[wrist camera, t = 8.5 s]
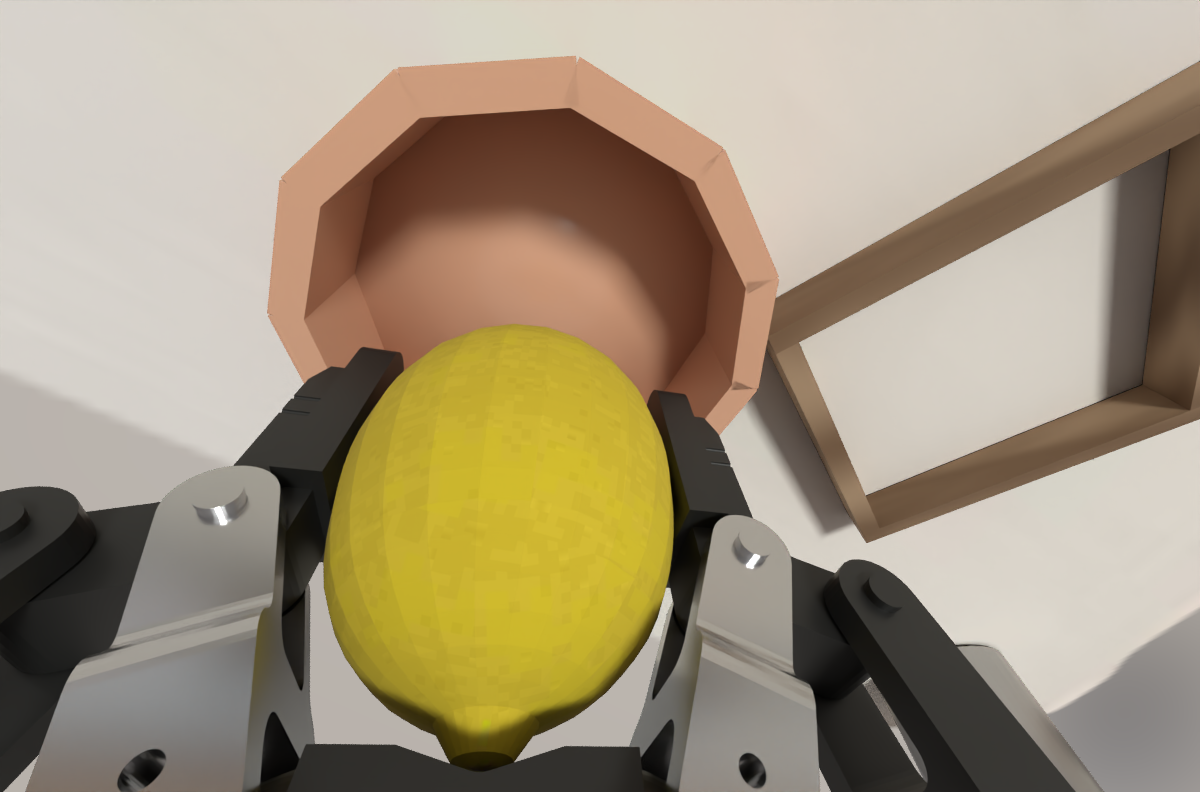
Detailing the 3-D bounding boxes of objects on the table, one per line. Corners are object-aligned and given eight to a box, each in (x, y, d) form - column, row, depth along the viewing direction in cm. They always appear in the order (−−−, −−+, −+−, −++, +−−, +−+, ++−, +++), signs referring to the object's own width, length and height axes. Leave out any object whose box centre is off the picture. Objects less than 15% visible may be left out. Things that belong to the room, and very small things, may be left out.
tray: (1163, 388, 19) (1212, 414, 18) (847, 513, 23) (866, 543, 21) (1214, 52, 12) (1302, 49, 11) (749, 313, 16) (767, 336, 15)
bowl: (780, 337, 17) (831, 400, 13) (516, 477, 20) (505, 554, 17) (594, -67, 10) (605, -134, 7) (254, 244, 14) (155, 297, 10)
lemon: (420, 440, 12) (258, 840, 6) (414, 242, 9) (56, 627, 3) (613, 462, 13) (656, 829, 7) (667, 288, 10) (840, 660, 4)
